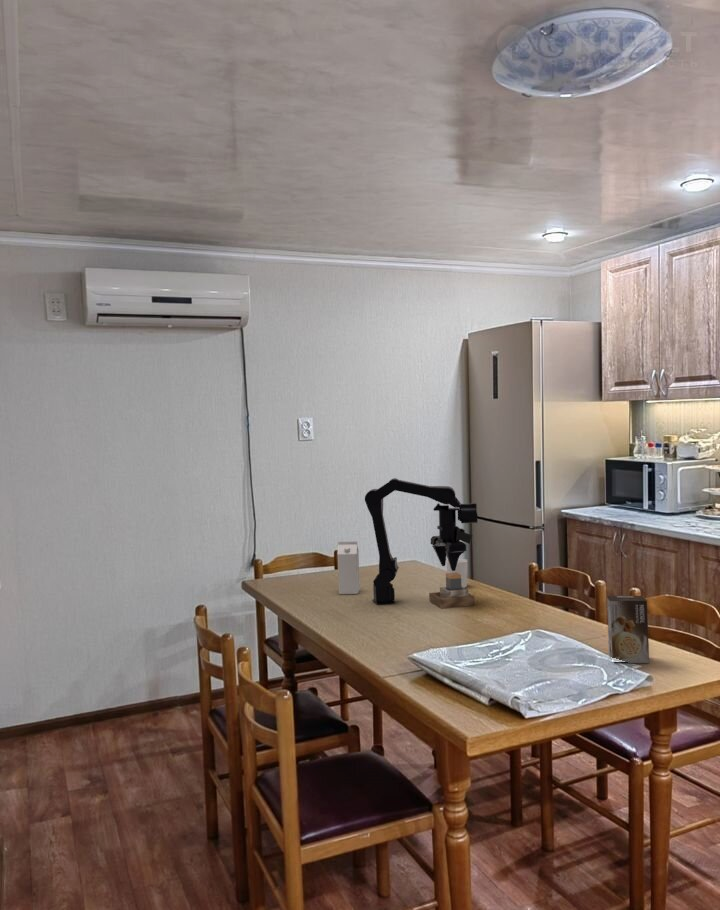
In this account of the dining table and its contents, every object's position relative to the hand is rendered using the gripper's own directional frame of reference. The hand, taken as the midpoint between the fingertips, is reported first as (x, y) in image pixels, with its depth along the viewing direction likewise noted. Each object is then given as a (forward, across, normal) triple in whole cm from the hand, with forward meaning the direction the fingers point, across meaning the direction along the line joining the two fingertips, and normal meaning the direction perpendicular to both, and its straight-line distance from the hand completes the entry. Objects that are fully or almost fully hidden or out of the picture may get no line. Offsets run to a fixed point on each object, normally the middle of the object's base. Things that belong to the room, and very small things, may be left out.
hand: (448, 568), depth 263 cm
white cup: (+12, +21, -12) cm, 27 cm away
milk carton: (+12, +29, +28) cm, 42 cm away
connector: (+10, -2, -1) cm, 10 cm away
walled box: (+12, -2, 0) cm, 12 cm away
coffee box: (+12, -76, -19) cm, 79 cm away
